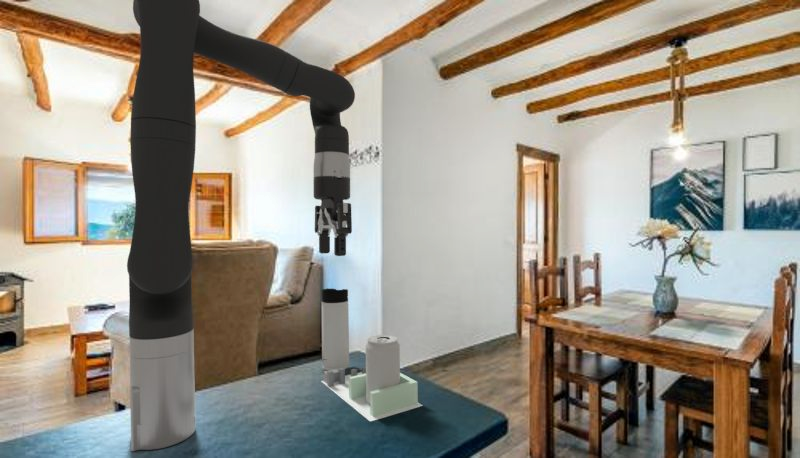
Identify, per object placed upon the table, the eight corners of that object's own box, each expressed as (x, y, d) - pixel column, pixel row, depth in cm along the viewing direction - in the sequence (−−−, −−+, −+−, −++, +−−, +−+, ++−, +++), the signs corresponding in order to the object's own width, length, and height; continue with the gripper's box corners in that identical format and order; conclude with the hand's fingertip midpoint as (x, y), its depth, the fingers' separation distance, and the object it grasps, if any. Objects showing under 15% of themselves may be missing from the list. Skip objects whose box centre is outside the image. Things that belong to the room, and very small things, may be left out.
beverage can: (403, 396, 81) (402, 334, 81) (396, 410, 74) (395, 343, 74) (371, 394, 82) (370, 333, 82) (362, 408, 76) (361, 342, 76)
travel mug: (317, 375, 96) (316, 288, 96) (329, 365, 102) (327, 284, 102) (342, 377, 95) (341, 289, 94) (353, 367, 101) (351, 285, 101)
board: (370, 428, 71) (369, 403, 70) (321, 386, 89) (320, 367, 89) (422, 411, 76) (422, 389, 76) (366, 376, 95) (366, 357, 95)
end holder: (373, 416, 72) (372, 393, 72) (349, 397, 80) (348, 377, 80) (417, 403, 77) (417, 382, 77) (391, 386, 85) (390, 367, 85)
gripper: (303, 178, 90) (303, 253, 91) (327, 171, 78) (327, 257, 78) (335, 180, 94) (335, 252, 94) (363, 173, 82) (363, 255, 82)
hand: (332, 254), depth 86 cm, fingers open, 8 cm apart
